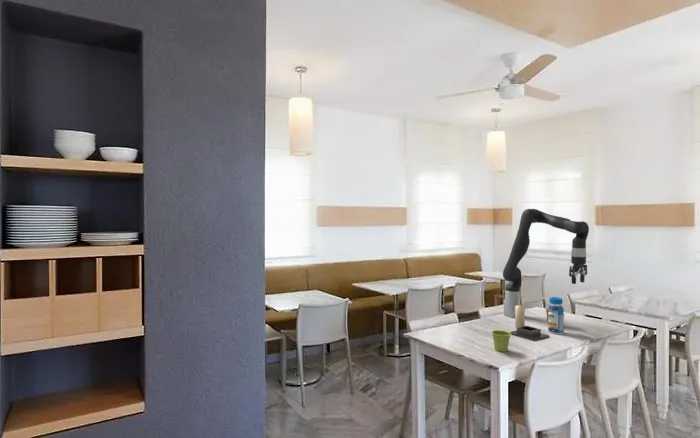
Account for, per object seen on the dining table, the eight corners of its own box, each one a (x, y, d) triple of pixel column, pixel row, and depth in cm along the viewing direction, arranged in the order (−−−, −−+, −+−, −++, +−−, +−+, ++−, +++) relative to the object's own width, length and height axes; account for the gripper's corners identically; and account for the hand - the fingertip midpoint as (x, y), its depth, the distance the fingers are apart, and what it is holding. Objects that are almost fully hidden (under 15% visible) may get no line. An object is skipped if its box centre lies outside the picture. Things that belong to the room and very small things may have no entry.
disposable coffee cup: (565, 327, 245) (565, 307, 245) (549, 327, 245) (549, 307, 245) (557, 323, 255) (557, 304, 255) (542, 323, 255) (542, 304, 255)
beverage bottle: (566, 334, 230) (566, 299, 230) (550, 334, 232) (550, 299, 232) (561, 330, 239) (561, 297, 239) (546, 329, 240) (546, 296, 240)
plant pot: (506, 346, 210) (506, 330, 210) (514, 352, 200) (514, 335, 200) (488, 347, 210) (488, 330, 210) (495, 353, 200) (495, 335, 200)
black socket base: (508, 334, 232) (508, 327, 232) (523, 330, 240) (523, 323, 240) (534, 341, 219) (534, 333, 219) (549, 337, 226) (549, 329, 226)
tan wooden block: (513, 327, 247) (513, 305, 247) (518, 325, 250) (518, 304, 250) (521, 329, 243) (521, 307, 243) (526, 327, 245) (526, 306, 245)
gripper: (579, 254, 243) (578, 280, 243) (565, 255, 235) (564, 283, 236) (592, 255, 236) (591, 282, 237) (578, 257, 229) (577, 285, 230)
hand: (577, 283), depth 237 cm, fingers open, 8 cm apart
